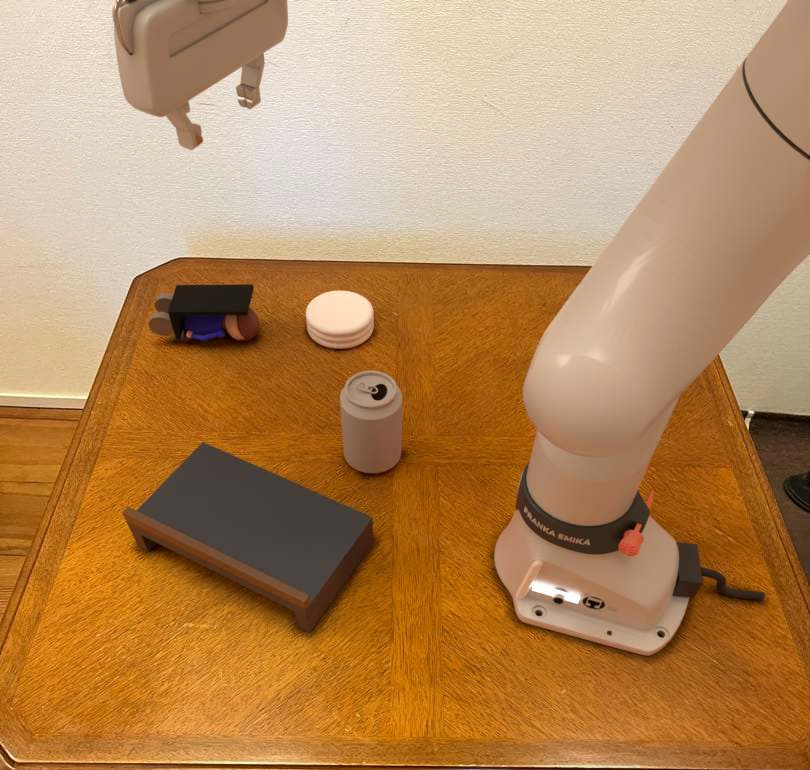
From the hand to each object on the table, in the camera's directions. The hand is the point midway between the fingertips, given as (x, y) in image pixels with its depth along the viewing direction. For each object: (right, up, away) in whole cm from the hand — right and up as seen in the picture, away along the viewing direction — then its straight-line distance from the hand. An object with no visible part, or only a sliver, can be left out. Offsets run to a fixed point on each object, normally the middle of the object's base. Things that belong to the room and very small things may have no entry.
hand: (221, 124), depth 72 cm
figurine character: (-11, -10, +38) cm, 41 cm away
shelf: (0, -41, +15) cm, 44 cm away
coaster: (+8, -9, +39) cm, 41 cm away
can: (+14, -30, +24) cm, 41 cm away
